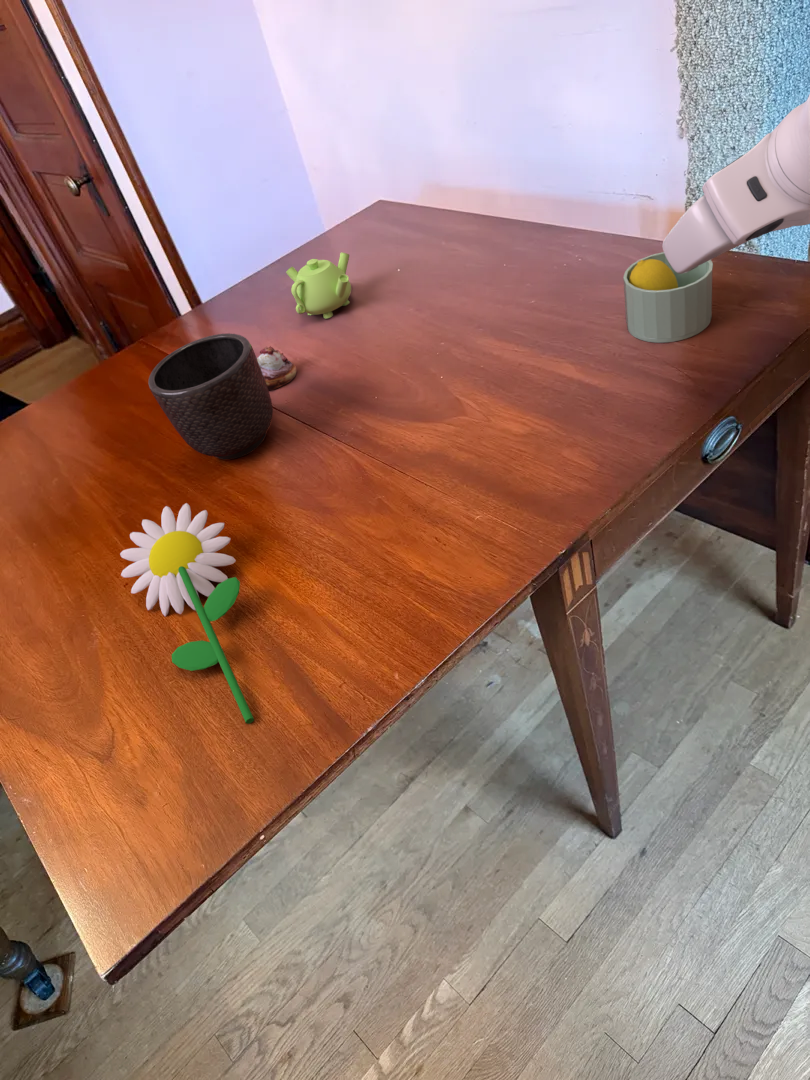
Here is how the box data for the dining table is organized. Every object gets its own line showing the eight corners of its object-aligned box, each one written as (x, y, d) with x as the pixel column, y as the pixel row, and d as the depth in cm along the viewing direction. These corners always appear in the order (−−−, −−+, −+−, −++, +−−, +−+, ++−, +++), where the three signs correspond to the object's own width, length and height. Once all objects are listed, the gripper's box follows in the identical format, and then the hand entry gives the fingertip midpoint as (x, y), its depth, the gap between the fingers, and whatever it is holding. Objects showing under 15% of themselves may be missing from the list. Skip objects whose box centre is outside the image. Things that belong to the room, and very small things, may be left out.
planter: (250, 479, 96) (207, 396, 88) (173, 470, 103) (125, 391, 94) (305, 414, 104) (270, 332, 96) (229, 409, 111) (190, 332, 102)
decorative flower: (320, 696, 71) (219, 510, 90) (302, 673, 67) (201, 484, 86) (202, 771, 69) (125, 565, 88) (177, 751, 66) (102, 541, 84)
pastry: (306, 367, 114) (295, 338, 111) (276, 396, 110) (263, 367, 107) (269, 362, 118) (257, 335, 115) (238, 390, 114) (225, 362, 111)
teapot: (295, 332, 124) (276, 285, 118) (298, 301, 132) (281, 256, 126) (359, 314, 122) (343, 265, 116) (359, 284, 131) (344, 237, 125)
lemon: (638, 325, 99) (610, 275, 95) (668, 297, 99) (642, 247, 95) (665, 328, 94) (637, 276, 90) (697, 299, 94) (670, 245, 90)
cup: (729, 312, 95) (731, 260, 90) (672, 351, 92) (671, 299, 88) (664, 293, 102) (663, 244, 98) (610, 329, 99) (606, 280, 95)
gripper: (873, 99, 70) (783, 185, 83) (693, 184, 66) (630, 259, 80) (907, 157, 69) (811, 234, 83) (728, 245, 66) (659, 310, 80)
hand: (721, 247), depth 81 cm, fingers open, 8 cm apart
